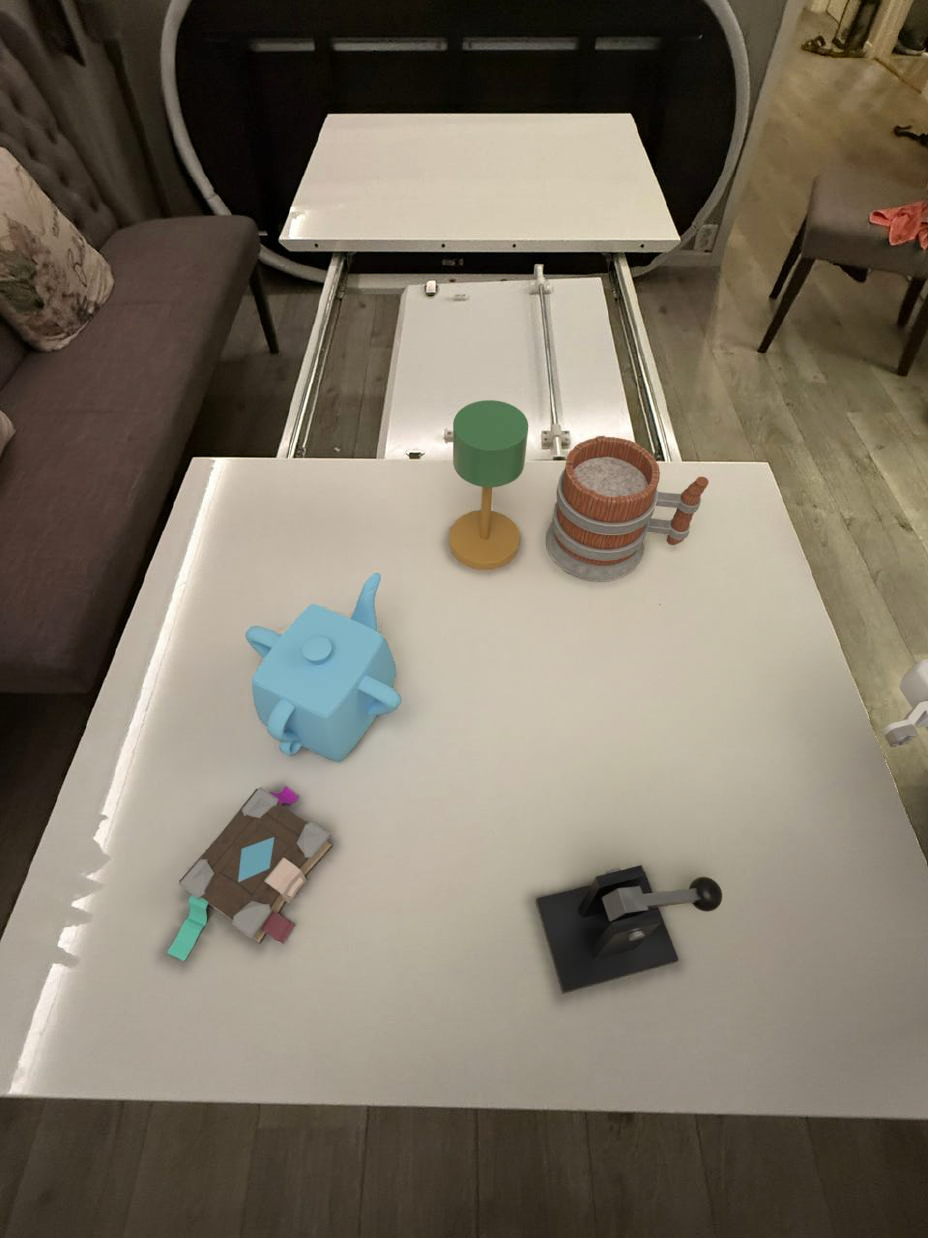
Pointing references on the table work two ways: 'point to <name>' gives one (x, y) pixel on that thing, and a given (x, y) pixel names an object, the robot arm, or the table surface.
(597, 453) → the mug
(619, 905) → the lever
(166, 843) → the table surface
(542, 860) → the table surface
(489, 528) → the lamp
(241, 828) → the book
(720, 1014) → the table surface
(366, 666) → the teapot
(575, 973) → the switch bracket
